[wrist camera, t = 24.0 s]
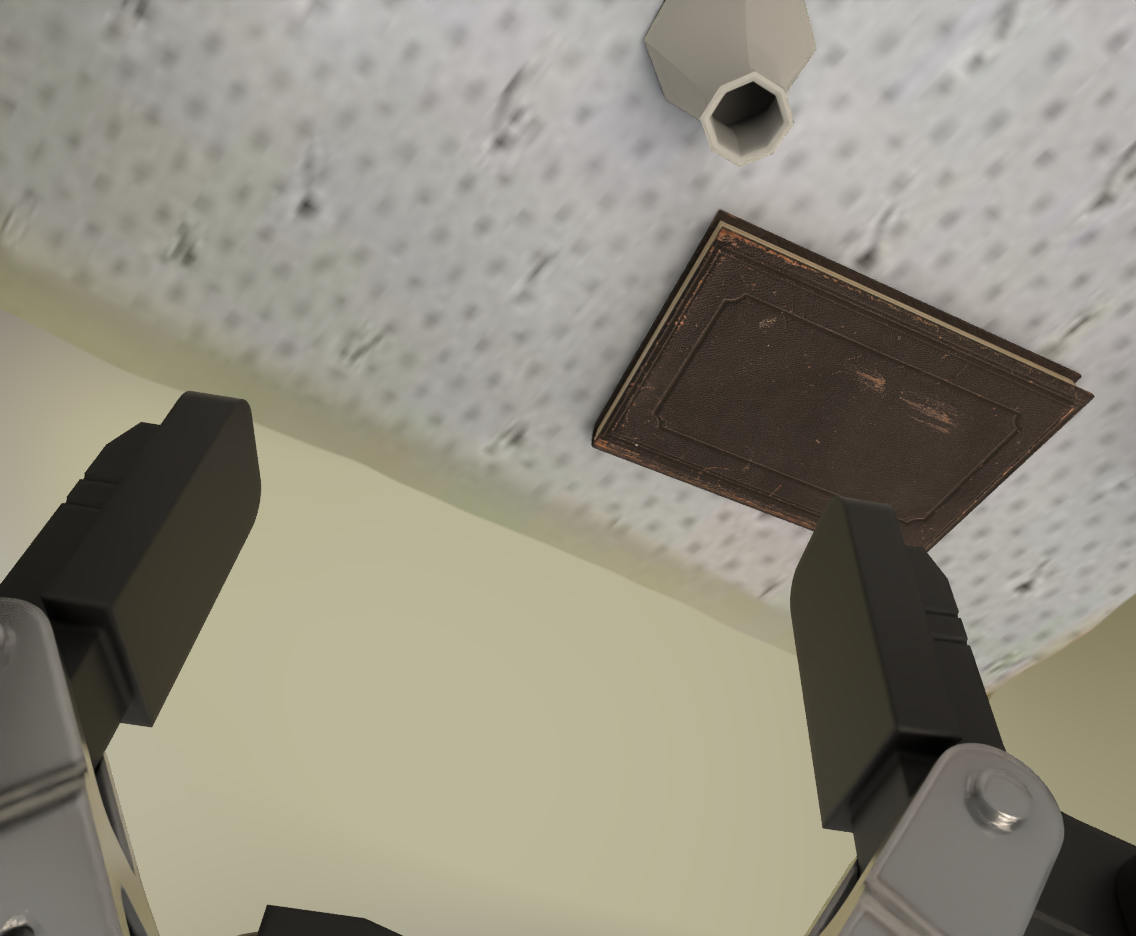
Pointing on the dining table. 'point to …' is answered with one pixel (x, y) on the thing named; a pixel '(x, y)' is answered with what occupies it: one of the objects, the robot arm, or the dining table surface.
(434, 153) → the dining table surface
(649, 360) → the hardcover book
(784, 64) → the flask
